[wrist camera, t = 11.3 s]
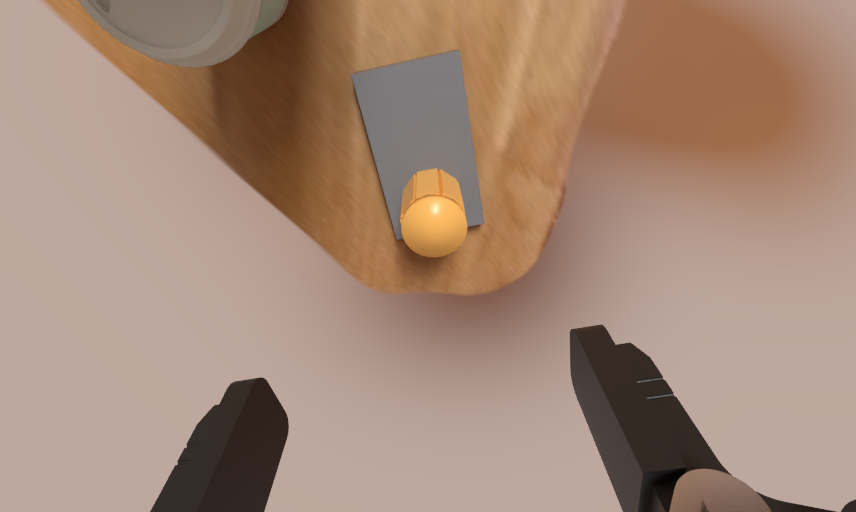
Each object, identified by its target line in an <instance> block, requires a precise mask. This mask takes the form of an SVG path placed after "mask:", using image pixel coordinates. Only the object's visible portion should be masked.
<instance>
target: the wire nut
mask: <svg viewBox="0 0 856 512" xmlns="http://www.w3.org/2000/svg"><path fill="white" fill-rule="evenodd" d="M400 222H401V232H402V236H403V239H404V241H405V243H406V244H407V246H408V247H409V248H410V249H411V250H413V251H414V252H416V253H418V254H420V255H422V256H426V257H442V256H445V255H448V254H450V253H452V252H454V251H455V250H456V249H458V248H459V247H460V245H461V244H462V243H463V241H464V239H465V237H466V234H467V229H468V228H467V221H466V216H465V209H464V205H463V200H462V196H461V191H460V187H459V182H457V179H455V178H454V177H452V176H451V175H449V174H447V173H446V172H444V171H443V170H441V169H440V170H439V171H437V168H435V169H430V170H425V171H419V172H417V175H415V174H414V175H413V176H412V178H411V179H410V180H409V182H408V183H407V185H406V186H405V188H404V189H403V194H402V204H401V215H400Z"/></svg>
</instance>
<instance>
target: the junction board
mask: <svg viewBox="0 0 856 512" xmlns="http://www.w3.org/2000/svg"><path fill="white" fill-rule="evenodd" d="M351 76H352V80H353V83H354V87H355V91H356V94H357V98H358V102H359V105H360V109H361V112H362V116H363V120H364V123H365V127H366V130H367V134H368V138H369V141H370V145H371V148H372V152H373V156H374V159H375V163H376V167H377V170H378V174H379V177H380V181H381V185H382V188H383V192H384V195H385V199H386V203H387V206H388V210H389V213H390V217H391V221H392V224H393V228H394V231H395V235H396V239H397V240H399V239H403V236H402V232H401V222H400V215H401V204H402V194H403V189H404V188H405V186H406V185H407V183H408V182H409V180H410V179H411V178H412V176H413V175H414V174H415V175H417V172H419V171H425V170H430V169H435V168H437V171H439V170H440V169H441V170H443V171H444V172H446V173H447V174H449V175H451V176H452V177H454V178H455V179H457V182H459V187H460V191H461V196H462V200H463V205H464V209H465V216H466V221H467V227H469V226H475V225H480V224H484V218H483V211H482V204H481V197H480V190H479V183H478V176H477V169H476V162H475V155H474V148H473V141H472V134H471V127H470V120H469V113H468V106H467V99H466V92H465V85H464V78H463V71H462V64H461V57H460V51H459V50H453V51H449V52H445V53H440V54H436V55H431V56H427V57H422V58H418V59H413V60H409V61H405V62H400V63H396V64H391V65H387V66H382V67H378V68H373V69H369V70H365V71H360V72H356V73H354V74H352V75H351Z"/></svg>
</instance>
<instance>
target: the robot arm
mask: <svg viewBox="0 0 856 512" xmlns="http://www.w3.org/2000/svg"><path fill="white" fill-rule="evenodd" d="M570 364H571V377H572V382H573V387H574V390H575V394H576V396H577V399H578V401H579V404H580V406H581V409H582V411H583V414H584V416H585V419H586V421H587V424H588V426H589V429H590V431H591V433H592V436H593V438H594V441H595V443H596V446H597V448H598V451H599V453H600V455H601V458H602V461H603V463H604V466H605V468H606V470H607V473H608V475H609V478H610V480H611V483H612V485H613V488H614V490H615V493H616V495H617V498H618V500H619V503H620V505H621V507H622V510H623V512H835V511H829V510H824V509H819V508H814V507H809V506H804V505H798V504H793V503H787V502H783V501H779V500H775V499H772V498H770V497H767V496H764V495H762V494H760V493H758V492H756V491H754V490H753V489H752V488H751V487H749V486H748V485H747V484H745V483H744V482H742V481H740V480H739V479H737V478H736V477H733V476H732V475H731V474H730V473H729V472H728V471H727V470H726V469H725V468H724V467H723V466H722V465H721V463H720V462H719V461H718V459H717V458H716V456H715V455H714V453H713V452H712V450H711V449H710V447H709V446H708V444H707V443H706V441H705V440H704V438H703V437H702V435H701V434H700V432H699V431H698V429H697V428H696V426H695V424H694V423H693V421H692V420H691V418H690V417H689V415H688V414H687V412H686V411H685V409H684V408H683V406H682V405H681V404H680V402H679V400H678V399H677V397H675V396H674V394H673V392H672V390H671V388H670V387H669V385H668V384H667V382H666V381H665V380H663V376H662V375H661V373H660V372H659V370H658V369H657V367H656V366H655V364H654V363H653V361H652V360H651V358H650V357H649V356H647V355H646V354H645V353H644V352H642V351H641V350H640V349H638V348H636V346H634V345H633V344H631V343H625V344H619V345H615V343H614V341H613V340H612V338H611V336H610V335H609V333H608V331H607V330H606V328H605V327H604V326H603V325H596V326H590V327H584V328H577V329H571V331H570ZM288 428H289V426H288V418H287V414H286V412H285V410H284V409H283V407H282V405H281V404H280V402H279V400H278V399H277V397H276V395H275V394H274V392H273V390H272V389H271V387H270V385H269V384H268V382H267V380H265V379H264V378H255V379H249V380H243V381H236V382H233V383H231V384H230V386H229V387H228V388H227V390H226V392H225V394H224V396H223V398H222V400H221V402H220V404H219V405H215V406H213V407H212V409H211V410H210V411H209V412H208V413H207V414H206V415H205V416H204V417H203V418H202V420H201V421H200V422H199V423H198V424H197V426H196V428H195V430H194V431H193V433H192V435H191V437H190V439H189V441H188V443H187V448H184V450H183V452H182V454H181V456H180V458H179V460H178V465H176V466H175V467H174V469H173V471H172V472H171V474H170V476H169V478H168V480H167V482H166V484H165V485H164V487H163V489H162V491H161V493H160V495H159V497H158V498H157V500H156V502H155V504H154V506H153V508H152V510H151V511H150V512H264V510H265V507H266V504H267V501H268V497H269V494H270V491H271V488H272V484H273V481H274V478H275V475H276V472H277V468H278V465H279V462H280V459H281V455H282V452H283V449H284V446H285V443H286V440H287V436H288ZM841 512H856V500H854V501H851V502H849V503H848V504H846V505H845V506H844V508H843V509H842V511H841Z"/></svg>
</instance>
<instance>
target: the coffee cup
mask: <svg viewBox="0 0 856 512" xmlns="http://www.w3.org/2000/svg"><path fill="white" fill-rule="evenodd" d="M78 1H79V3H80V4H81V5H82V7H83V8H84V9H85V10H86V11H87V13H88V14H89V15H90V16H91V17H92V18H93V19H94V20H95V21H96V22H97V23H98V24H99V25H100V26H101V27H102V28H103V29H104V30H105V31H107V32H108V33H109V34H110V35H112V36H113V37H114V38H116V39H117V40H119V41H120V42H122V43H123V44H125V45H127V46H129V47H131V48H133V49H135V50H137V51H139V52H140V53H142V54H144V55H146V56H148V57H150V58H152V59H155V60H158V61H161V62H164V63H167V64H172V65H177V66H184V67H206V66H211V65H215V64H218V63H220V62H223V61H225V60H227V59H229V58H230V57H232V56H233V55H234V54H236V53H237V52H238V51H239V50H240V49H241V48H242V47H243V46H244V45H245V43H246V42H247V41H248V39H250V38H252V37H253V36H255V35H257V34H258V33H260V32H262V31H263V30H265V29H267V28H268V27H270V26H272V25H273V24H275V23H276V22H277V21H278V20H279V19H280V18H281V17H282V15H283V14H284V12H285V10H286V8H287V5H288V2H289V0H78Z"/></svg>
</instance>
